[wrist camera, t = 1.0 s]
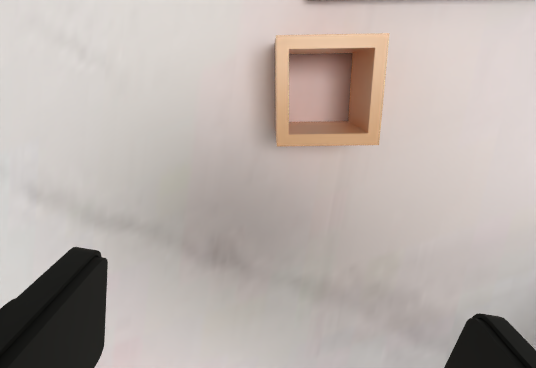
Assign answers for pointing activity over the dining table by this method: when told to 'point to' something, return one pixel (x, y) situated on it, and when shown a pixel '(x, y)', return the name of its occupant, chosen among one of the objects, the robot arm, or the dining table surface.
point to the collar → (361, 89)
